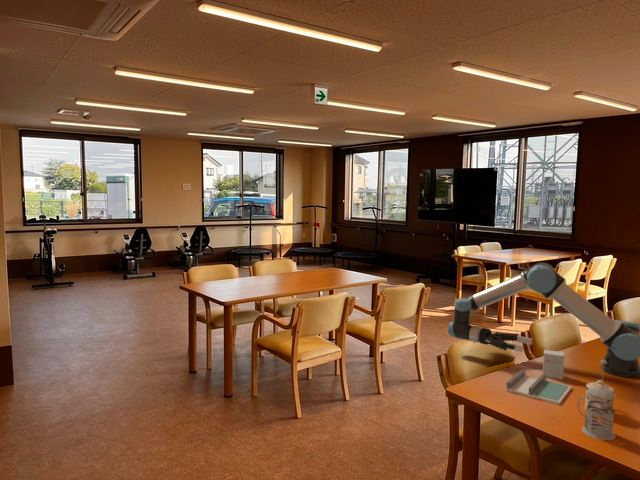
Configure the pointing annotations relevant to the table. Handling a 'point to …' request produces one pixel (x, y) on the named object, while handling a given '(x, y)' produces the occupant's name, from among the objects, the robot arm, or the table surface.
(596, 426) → the french press
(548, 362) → the small box
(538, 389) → the tray
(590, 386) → the teacup with lid
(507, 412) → the table surface
